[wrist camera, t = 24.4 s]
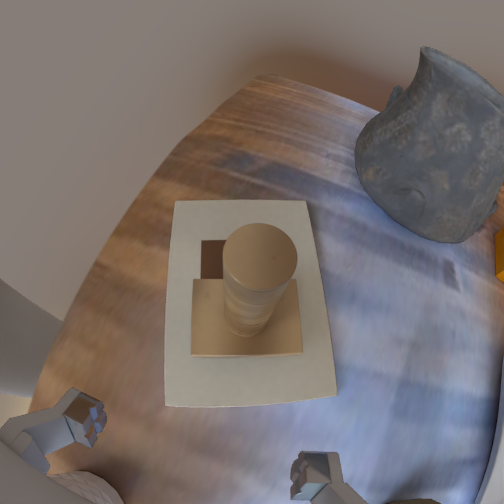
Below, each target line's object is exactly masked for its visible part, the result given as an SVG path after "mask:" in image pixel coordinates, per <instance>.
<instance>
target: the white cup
mask: <svg viewBox="0 0 504 504" xmlns="http://www.w3.org/2000/svg"><path fill="white" fill-rule="evenodd" d="M48 477H50V478H51V479H53V480H54V481H56V482H57V483H59V484H61V485H62V486H64V487H66V488H67V489H69V490H71V491H73V492H74V493H76V494H78V495H80V496H82V497H84V498H86V499H88V500H90V501H92V502H94V503H96V504H124V502H123V501H122V499H121V497H120V496H119V494H118V493H117V491H116V490H115V489H114V488H113V487H112V486H111V485H109V484H108V483H107V482H106V481H105V480H104V479H103V478H100V477H98V476H96V475H94V474H92V473H90V472H85V471H72V472H68V473H64V474H54V475H50V476H48Z"/></svg>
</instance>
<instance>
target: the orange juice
mask: <svg viewBox="0 0 504 504" xmlns="http://www.w3.org/2000/svg"><path fill="white" fill-rule="evenodd" d="M495 255H496V277H497V278H498V279H500V280H501V281H502V282H503V283H504V227H503V228H502V229H501V230H500V231H499V232H498V233H497V234H496V235H495Z"/></svg>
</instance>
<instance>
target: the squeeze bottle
mask: <svg viewBox="0 0 504 504" xmlns="http://www.w3.org/2000/svg"><path fill="white" fill-rule="evenodd" d="M387 504H441V503H439V502H436V501H434V500H432V499H411V500H399V501H394V502H391V503H387Z"/></svg>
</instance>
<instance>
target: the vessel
mask: <svg viewBox="0 0 504 504" xmlns="http://www.w3.org/2000/svg"><path fill="white" fill-rule="evenodd" d="M355 164H356V169H357V173H358V176H359V178H360V182H361V184H362V186H363V188H364V190H365V191H366V192H367V193H368V195H369V196H370V197H371V199H372V200H373V201H374V202H375V203H376V204H377V205H378V206H379V207H380V208H381V209H382V210H383V211H385V212H386V213H387V214H388V215H389V216H390V217H391V218H392V219H393V220H395V221H396V222H398V223H399V224H401V225H402V226H404V227H406V228H407V229H409V230H410V231H412V232H414V233H415V234H417V235H419V236H421V237H424V238H426V239H429V240H432V241H437V242H442V243H461V242H463V241H465V240H466V239H468V238H469V237H470V236H471V235H472V234H473V233H474V232H475V231H476V230H477V229H478V228H479V227H480V226H481V224H482V223H483V222H484V220H485V219H486V218H488V217H489V216H490V215H492V214H493V213H494V212H495V211H496V209H497V203H496V201H495V199H496V197H497V195H498V193H499V191H500V188H501V186H502V184H503V182H504V96H503V95H502V94H501V93H500V92H499V91H498V90H497V89H496V88H495V87H494V86H493V85H491V84H490V83H489V82H488V81H487V80H486V79H484V78H483V77H482V76H480V75H479V74H478V73H477V72H475V71H474V70H473V69H471V68H470V67H469V66H467V65H466V64H464V63H462V62H461V61H459V60H457V59H455V58H454V57H452V56H450V55H448V54H445V53H443V52H441V51H438V50H436V49H433V48H430V47H425V46H422V47H421V49H420V61H419V66H418V69H417V72H416V75H415V77H414V79H413V81H412V83H411V85H410V86H409V87H408V88H407V89H406V90H405V91H404V92H403V89H402V87H401V86H396V87H395V88H394V89H393V92H392V94H391V96H390V98H389V101H388V104H387V106H386V109H385V110H384V111H382V112H381V113H379V114H378V115H377V116H375V117H374V118H373V119H371V120H370V121H369V122H368V123H367V124H366V126H365V127H364V129H363V130H362V132H361V133H360V135H359V137H358V139H357V142H356V146H355Z"/></svg>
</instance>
